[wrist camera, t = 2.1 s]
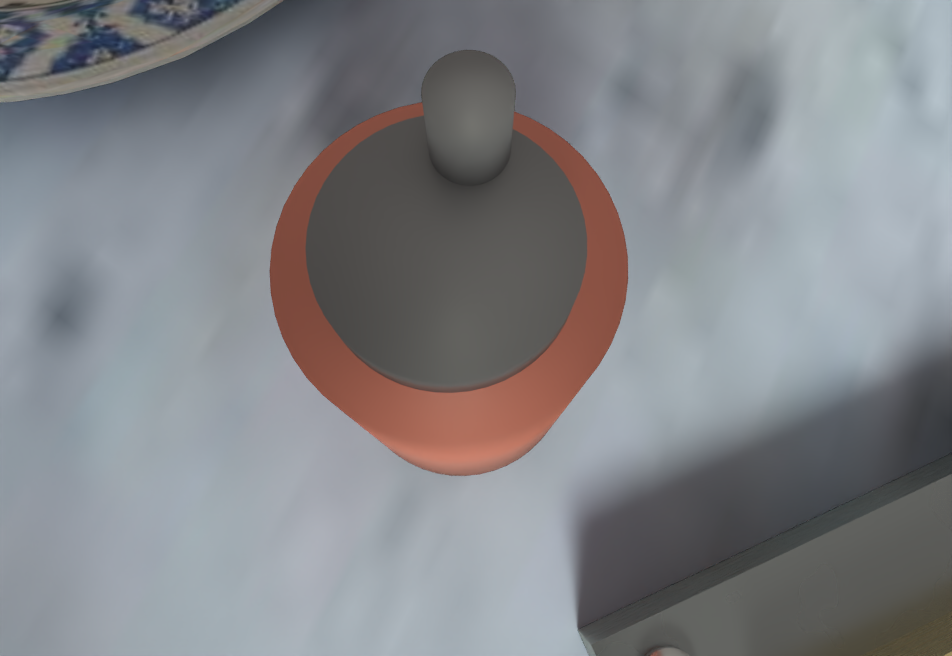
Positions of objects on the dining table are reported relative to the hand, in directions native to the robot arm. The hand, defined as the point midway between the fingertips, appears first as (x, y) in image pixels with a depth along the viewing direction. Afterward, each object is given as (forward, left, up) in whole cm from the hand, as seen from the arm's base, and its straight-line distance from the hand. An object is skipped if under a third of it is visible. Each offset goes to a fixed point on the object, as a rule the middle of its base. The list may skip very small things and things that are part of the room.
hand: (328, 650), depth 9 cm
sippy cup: (+3, +4, -12) cm, 13 cm away
